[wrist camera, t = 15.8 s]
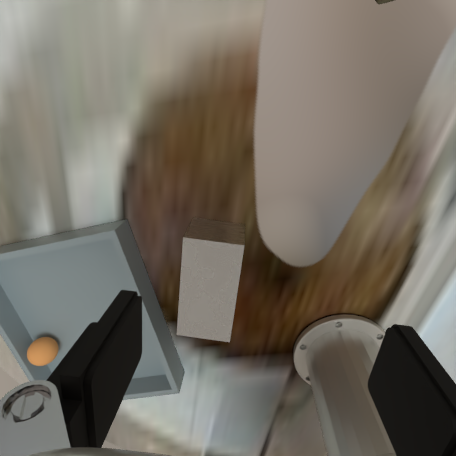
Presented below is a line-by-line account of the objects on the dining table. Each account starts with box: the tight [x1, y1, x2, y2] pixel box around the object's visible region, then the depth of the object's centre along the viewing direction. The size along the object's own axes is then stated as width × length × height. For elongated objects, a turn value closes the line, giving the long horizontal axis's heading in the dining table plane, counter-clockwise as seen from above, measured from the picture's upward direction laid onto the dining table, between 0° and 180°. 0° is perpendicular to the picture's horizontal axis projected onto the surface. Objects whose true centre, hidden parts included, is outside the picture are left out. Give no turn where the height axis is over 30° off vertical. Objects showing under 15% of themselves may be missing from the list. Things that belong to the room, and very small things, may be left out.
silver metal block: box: [177, 217, 245, 342], centre depth 34 cm, size 12×6×6 cm, turn 173°
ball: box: [27, 337, 59, 366], centre depth 40 cm, size 4×4×4 cm
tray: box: [0, 219, 184, 400], centre depth 39 cm, size 24×20×4 cm
